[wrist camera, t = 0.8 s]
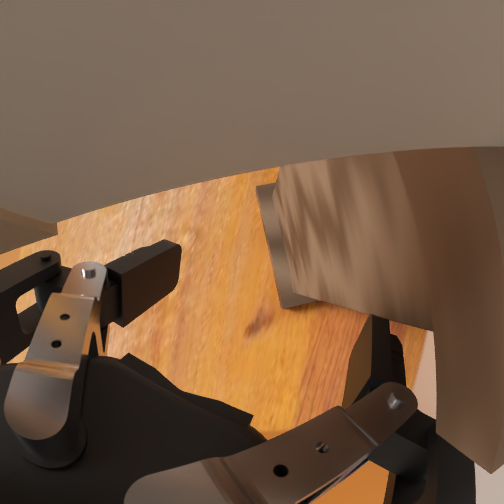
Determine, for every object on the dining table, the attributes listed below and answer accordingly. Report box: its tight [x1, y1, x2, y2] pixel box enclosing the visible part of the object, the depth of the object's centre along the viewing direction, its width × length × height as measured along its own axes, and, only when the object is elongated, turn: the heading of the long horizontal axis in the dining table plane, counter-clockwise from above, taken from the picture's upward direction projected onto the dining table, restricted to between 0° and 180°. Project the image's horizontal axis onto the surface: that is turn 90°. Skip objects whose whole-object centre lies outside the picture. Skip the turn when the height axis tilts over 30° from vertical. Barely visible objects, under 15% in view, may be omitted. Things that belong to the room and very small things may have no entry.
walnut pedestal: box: [256, 147, 504, 474], centre depth 19 cm, size 14×12×32 cm
